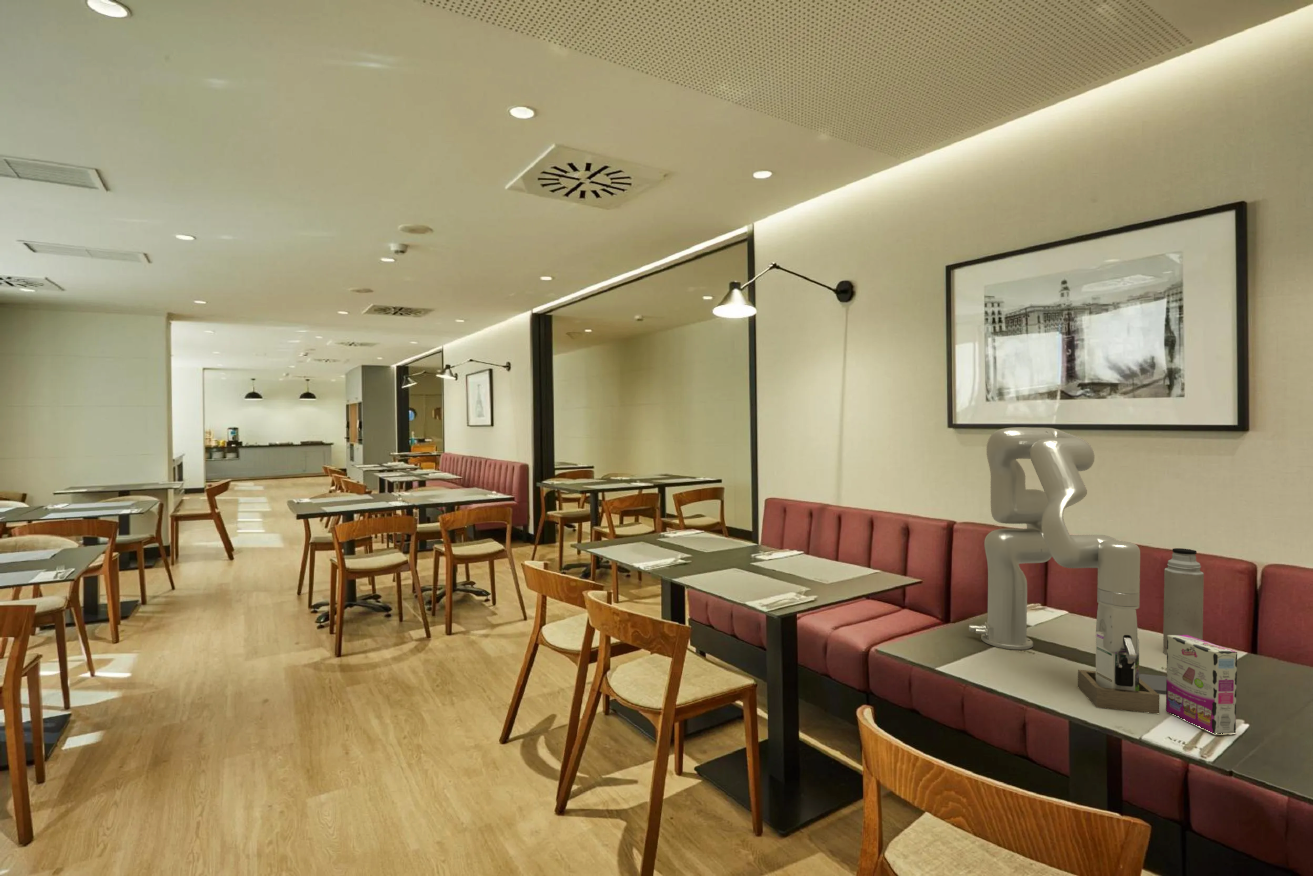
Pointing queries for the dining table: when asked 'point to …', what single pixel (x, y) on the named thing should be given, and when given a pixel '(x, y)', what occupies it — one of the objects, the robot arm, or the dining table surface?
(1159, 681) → the mat
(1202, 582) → the thermos bottle
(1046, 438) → the robot arm
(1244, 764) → the dining table surface
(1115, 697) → the collar
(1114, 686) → the syrup box
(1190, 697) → the candy bar box
